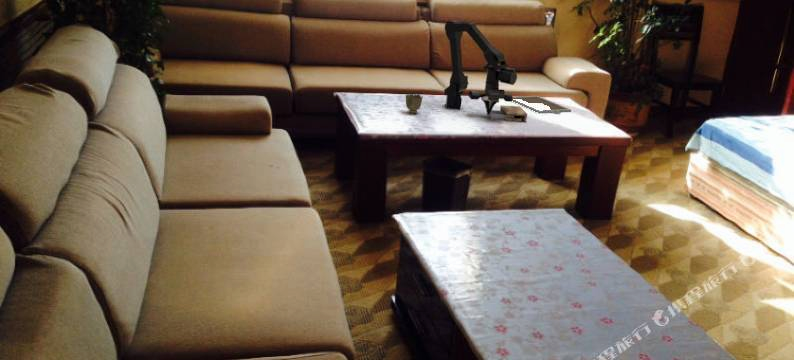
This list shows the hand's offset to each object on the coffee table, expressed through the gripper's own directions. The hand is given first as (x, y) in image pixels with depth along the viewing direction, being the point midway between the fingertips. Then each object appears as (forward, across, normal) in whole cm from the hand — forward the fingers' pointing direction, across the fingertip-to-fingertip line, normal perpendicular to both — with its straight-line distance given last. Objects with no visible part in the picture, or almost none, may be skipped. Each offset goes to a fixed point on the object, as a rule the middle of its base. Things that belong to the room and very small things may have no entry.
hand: (488, 114), depth 290 cm
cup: (+1, -34, -1) cm, 34 cm away
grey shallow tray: (+1, +6, 0) cm, 6 cm away
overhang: (+1, +11, 0) cm, 11 cm away
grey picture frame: (+2, +31, +25) cm, 40 cm away
